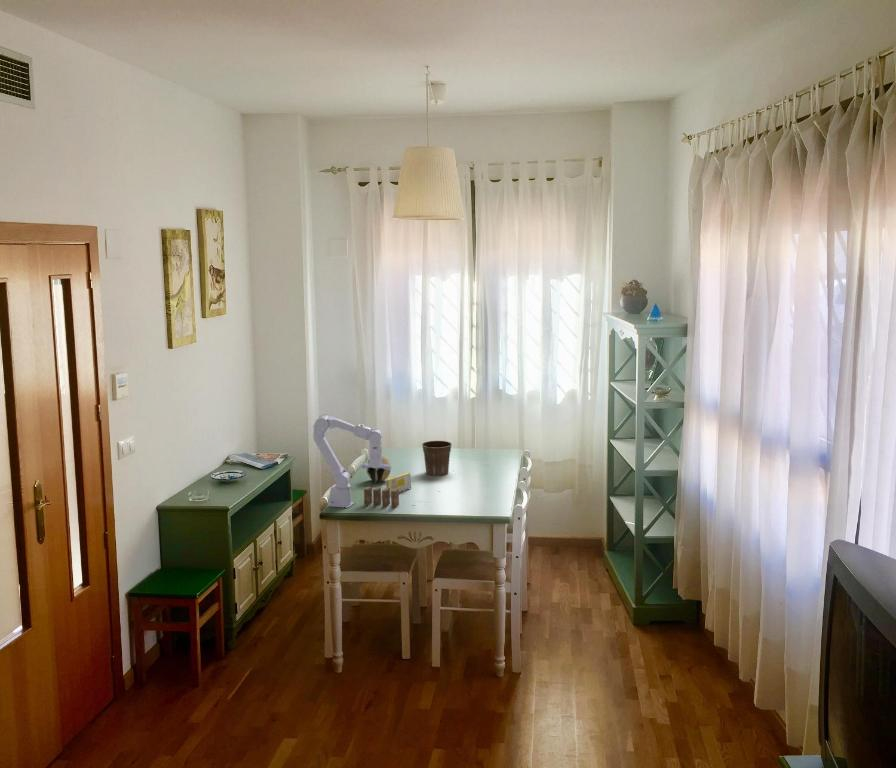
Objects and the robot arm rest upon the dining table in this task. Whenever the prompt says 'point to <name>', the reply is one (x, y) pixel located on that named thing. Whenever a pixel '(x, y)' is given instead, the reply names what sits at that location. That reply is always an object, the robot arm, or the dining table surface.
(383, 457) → the fossilized egg
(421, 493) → the dining table surface
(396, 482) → the candy box
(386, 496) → the middle tile
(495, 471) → the dining table surface
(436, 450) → the plant pot
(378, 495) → the tile
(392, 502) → the far tile
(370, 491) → the end tile
